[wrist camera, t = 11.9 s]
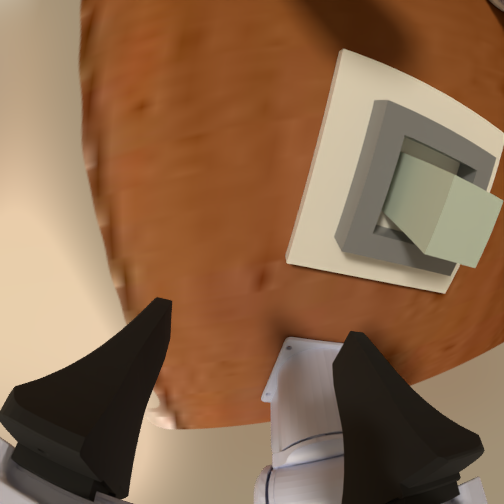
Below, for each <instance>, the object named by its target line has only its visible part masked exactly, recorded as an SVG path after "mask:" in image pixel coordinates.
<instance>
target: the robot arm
mask: <svg viewBox="0 0 504 504" xmlns="http://www.w3.org/2000/svg"><path fill="white" fill-rule="evenodd" d="M171 312H172V301H171V300H167V299H162V298H158V297H157V298H155V299H154V300H153V301H152V302H151V303H150V304H149V305H148V306H147V307H146V308H145V309H144V310H143V311H142V312H141V313H140V314H139V315H138V316H137V317H136V318H134V319H133V320H132V321H131V322H130V323H129V324H128V325H127V326H125V327H124V328H123V329H122V330H121V331H120V332H118V333H117V334H116V335H115V336H113V337H112V338H111V339H110V340H108V341H107V342H106V343H104V344H103V345H102V346H100V347H99V348H97V349H96V350H94V351H93V352H92V353H90V354H88V355H87V356H85V357H83V358H82V359H80V360H78V361H76V362H75V363H73V364H71V365H69V366H67V367H65V368H63V369H61V370H59V371H57V372H55V373H52V374H50V375H48V376H45V377H43V378H40V379H37V380H34V381H31V382H28V383H25V384H22V385H18V386H15V387H14V388H13V390H12V391H11V393H10V394H9V396H8V398H7V399H6V401H5V403H4V405H3V407H2V409H1V410H0V422H1V423H2V425H3V426H4V427H5V428H6V430H7V431H8V432H9V433H10V434H11V435H12V436H13V437H14V438H15V440H17V442H18V443H17V445H16V447H15V448H14V447H13V446H12V445H11V444H9V443H8V442H6V441H5V440H4V439H2V438H0V504H133V503H130V502H126V501H123V500H121V499H124V498H126V497H127V496H128V494H129V486H130V479H131V473H132V467H133V461H134V456H135V451H136V446H137V442H138V437H139V433H140V429H141V424H142V420H143V416H144V412H145V409H146V406H147V403H148V401H149V398H150V395H151V393H152V390H153V388H154V385H155V383H156V380H157V378H158V375H159V372H160V370H161V367H162V365H163V362H164V360H165V356H166V352H167V349H168V345H169V341H170V333H171ZM287 346H290V347H287ZM261 400H262V401H264V402H271V448H272V452H273V454H272V461H273V462H272V465H268V466H266V467H265V468H264V469H263V470H262V472H261V473H260V475H259V476H258V478H257V480H256V483H255V488H254V504H487V500H486V496H485V493H484V489H483V486H482V483H481V480H480V477H476V478H474V479H471V480H469V481H467V482H464V483H462V484H460V485H457V481H458V480H459V479H460V474H459V472H460V471H461V470H463V469H465V468H466V467H467V466H469V465H470V464H471V463H473V462H474V461H476V460H477V459H478V458H479V457H480V456H481V455H482V454H483V452H484V447H483V445H482V442H481V440H480V437H479V435H477V434H476V433H474V432H472V431H470V430H468V429H465V428H464V427H462V426H460V425H458V424H457V423H455V422H453V421H452V420H450V419H449V418H447V417H446V416H444V415H443V414H441V413H440V412H439V411H437V410H436V409H435V408H433V407H432V406H431V405H430V404H429V403H427V402H426V401H425V400H424V399H423V398H422V397H420V395H418V394H417V393H416V392H415V391H414V390H413V389H412V388H411V387H410V386H409V385H408V384H407V383H406V382H405V381H404V379H403V378H402V377H401V376H400V375H399V374H398V373H397V372H396V371H395V369H394V368H393V367H392V366H391V365H390V364H389V362H388V361H387V360H386V359H385V358H384V356H383V355H382V354H381V353H380V352H379V350H378V349H377V348H376V347H375V346H374V344H373V343H372V342H371V341H370V340H369V338H368V337H367V336H366V335H365V334H364V333H363V332H354V331H350V333H349V334H348V336H347V338H346V340H345V342H344V343H336V342H327V341H319V340H311V339H304V338H296V337H288V338H286V339H285V341H284V343H283V346H282V348H281V351H280V353H279V356H278V358H277V361H276V363H275V365H274V368H273V370H272V373H271V375H270V377H269V380H268V382H267V384H266V387H265V389H264V391H263V394H262V396H261Z"/></svg>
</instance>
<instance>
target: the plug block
mask: <svg viewBox="0 0 504 504" xmlns="http://www.w3.org/2000/svg"><path fill="white" fill-rule="evenodd" d="M502 203H503V200H501V199H499V198H498V197H496V196H494V195H492V194H491V193H489V192H487V191H485V190H483V189H482V188H480V187H478V186H476V185H474V184H472V183H470V182H468V181H466V180H464V179H462V178H460V177H458V176H456V175H454V174H452V173H450V172H448V171H446V170H443V169H441V168H439V167H437V166H434V165H432V164H430V163H427V162H425V161H423V160H420V159H418V158H415V157H413V156H410V155H408V154H405V153H403V152H400V154H399V158H398V161H397V164H396V167H395V171H394V174H393V177H392V180H391V183H390V186H389V189H388V192H387V195H386V198H385V201H384V204H383V207H382V210H381V211H383V212H384V213H385V214H386V215H387V216H388V217H389V218H390V219H391V220H392V221H393V222H394V223H395V224H396V225H397V226H398V227H399V228H400V229H401V230H402V231H403V232H404V233H405V234H406V235H407V236H408V237H409V238H410V239H411V240H412V241H413V242H414V244H415V245H416V246H417V247H418V248H419V249H420V250H421V251H422V252H423V253H424V254H426V255H430V256H433V257H437V258H441V259H444V260H448V261H452V262H455V263H459V264H462V265H466V266H469V267H473V268H475V267H476V265H477V263H478V261H479V259H480V257H481V255H482V253H483V250H484V248H485V246H486V244H487V241H488V239H489V237H490V234H491V232H492V230H493V227H494V225H495V222H496V220H497V217H498V214H499V212H500V209H501V206H502Z"/></svg>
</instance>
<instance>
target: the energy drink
mask: <svg viewBox="0 0 504 504" xmlns="http://www.w3.org/2000/svg"><path fill="white" fill-rule="evenodd" d="M489 1H490V2H491V3H492V4H493V5H494V6H496V7H497V8H499V9H500V10H502V11H503V12H504V0H489Z"/></svg>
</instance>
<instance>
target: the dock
mask: <svg viewBox="0 0 504 504" xmlns="http://www.w3.org/2000/svg"><path fill="white" fill-rule="evenodd" d="M503 145H504V133H503V132H502V131H500V130H499V129H498V128H496V127H495V126H494V125H492V124H491V123H489V122H488V121H487V120H485V119H484V118H482V117H481V116H479V115H478V114H476V113H475V112H473V111H472V110H470V109H469V108H467V107H466V106H464V105H462V104H461V103H459V102H458V101H456V100H454V99H453V98H451V97H449V96H448V95H446V94H444V93H442V92H440V91H439V90H437V89H435V88H433V87H431V86H429V85H428V84H426V83H424V82H422V81H420V80H418V79H416V78H414V77H412V76H410V75H408V74H406V73H403V72H401V71H399V70H397V69H395V68H392V67H390V66H388V65H385V64H383V63H381V62H378V61H376V60H373V59H371V58H368V57H366V56H363V55H360V54H358V53H355V52H352V51H349V50H346V49H342V50H340V51H339V54H338V58H337V62H336V67H335V71H334V75H333V80H332V84H331V88H330V92H329V96H328V100H327V105H326V109H325V113H324V117H323V121H322V125H321V129H320V132H319V136H318V140H317V144H316V148H315V152H314V156H313V159H312V163H311V167H310V171H309V174H308V178H307V182H306V185H305V189H304V193H303V196H302V200H301V203H300V207H299V211H298V214H297V218H296V221H295V225H294V228H293V232H292V235H291V238H290V242H289V245H288V249H287V252H286V255H285V256H286V263H289V264H294V265H299V266H304V267H309V268H315V269H320V270H325V271H330V272H335V273H340V274H345V275H351V276H356V277H361V278H366V279H371V280H376V281H382V282H387V283H392V284H397V285H403V286H408V287H413V288H418V289H423V290H429V291H434V292H439V293H446V291H447V289H448V287H449V285H450V283H451V282H452V280H453V278H454V276H455V274H456V272H457V270H458V268H459V266H460V264H459V263H455V262H452V261H448V260H444V259H441V258H437V257H433V256H430V255H426V254H424V253H423V252H422V251H421V250H420V249H419V248H418V247H417V246H416V245H415V244H414V242H413V241H412V240H411V239H410V238H409V237H408V236H407V235H406V234H405V233H404V232H403V231H402V230H401V229H400V228H399V227H398V226H397V225H396V224H395V223H394V222H393V221H392V220H391V219H390V218H389V217H388V216H387V215H386V214H385V213H384V212H383V211H381V210H382V207H383V204H384V201H385V198H386V195H387V192H388V189H389V186H390V183H391V180H392V177H393V174H394V171H395V167H396V164H397V161H398V158H399V154H400V152H403V153H405V154H408V155H410V156H413V157H415V158H418V159H420V160H423V161H425V162H427V163H430V164H432V165H434V166H437V167H439V168H441V169H443V170H446V171H448V172H450V173H452V174H454V175H456V176H458V177H460V178H462V179H464V180H466V181H468V182H470V183H472V184H474V185H476V186H478V187H480V188H482V189H483V190H485V191H487V192H489V193H490V190H491V187H492V184H493V181H494V178H495V174H496V171H497V168H498V164H499V161H500V157H501V153H502V149H503Z"/></svg>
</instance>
